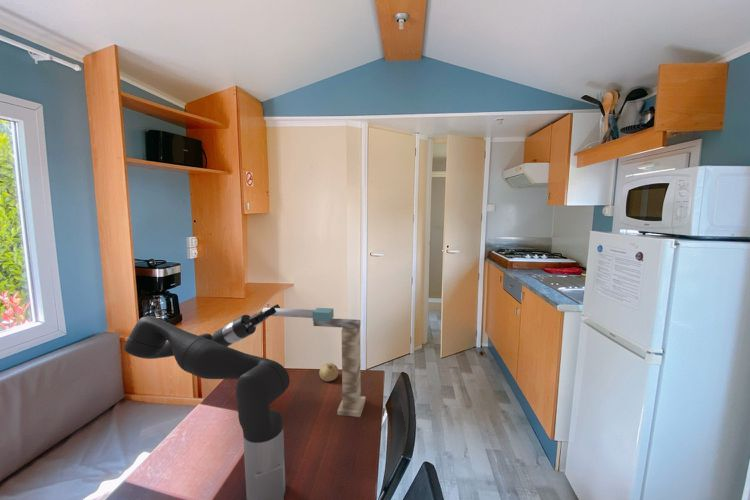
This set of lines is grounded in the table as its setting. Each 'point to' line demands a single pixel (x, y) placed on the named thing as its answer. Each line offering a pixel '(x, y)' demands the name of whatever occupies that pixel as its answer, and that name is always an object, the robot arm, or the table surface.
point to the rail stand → (349, 366)
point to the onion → (328, 372)
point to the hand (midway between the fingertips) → (276, 308)
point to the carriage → (305, 313)
